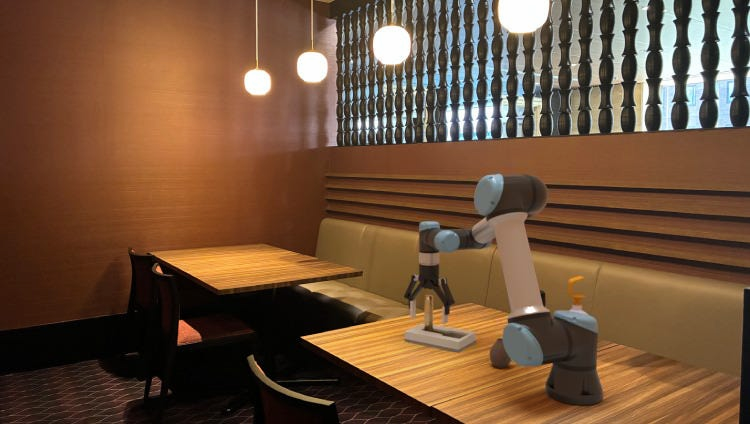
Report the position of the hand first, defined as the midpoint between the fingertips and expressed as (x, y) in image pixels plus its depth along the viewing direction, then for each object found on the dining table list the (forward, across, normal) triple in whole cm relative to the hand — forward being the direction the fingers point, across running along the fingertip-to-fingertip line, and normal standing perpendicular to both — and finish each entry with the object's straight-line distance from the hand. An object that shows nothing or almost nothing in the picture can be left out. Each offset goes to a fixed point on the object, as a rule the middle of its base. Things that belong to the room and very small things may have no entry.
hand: (428, 320), depth 208 cm
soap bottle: (+8, -46, -27) cm, 54 cm away
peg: (+6, 0, 0) cm, 6 cm away
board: (+7, -5, 0) cm, 9 cm away
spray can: (+8, -35, -15) cm, 39 cm away
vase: (+8, -33, +11) cm, 36 cm away
